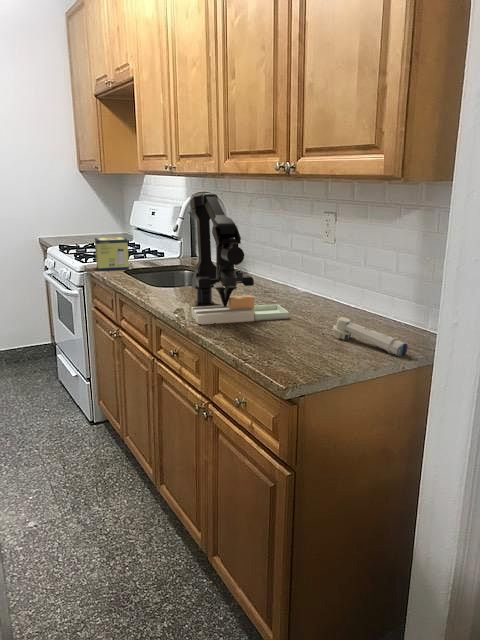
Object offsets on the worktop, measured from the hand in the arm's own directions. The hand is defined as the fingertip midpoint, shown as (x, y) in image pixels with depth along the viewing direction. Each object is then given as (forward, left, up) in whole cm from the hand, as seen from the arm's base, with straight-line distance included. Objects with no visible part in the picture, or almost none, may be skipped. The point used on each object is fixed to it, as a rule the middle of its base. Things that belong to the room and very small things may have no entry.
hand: (224, 306), depth 186 cm
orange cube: (0, +8, -1) cm, 8 cm away
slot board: (0, -1, -4) cm, 4 cm away
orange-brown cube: (0, +4, -1) cm, 4 cm away
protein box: (-110, -32, -4) cm, 115 cm away
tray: (0, +15, -4) cm, 16 cm away
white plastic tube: (+39, +33, -5) cm, 51 cm away
